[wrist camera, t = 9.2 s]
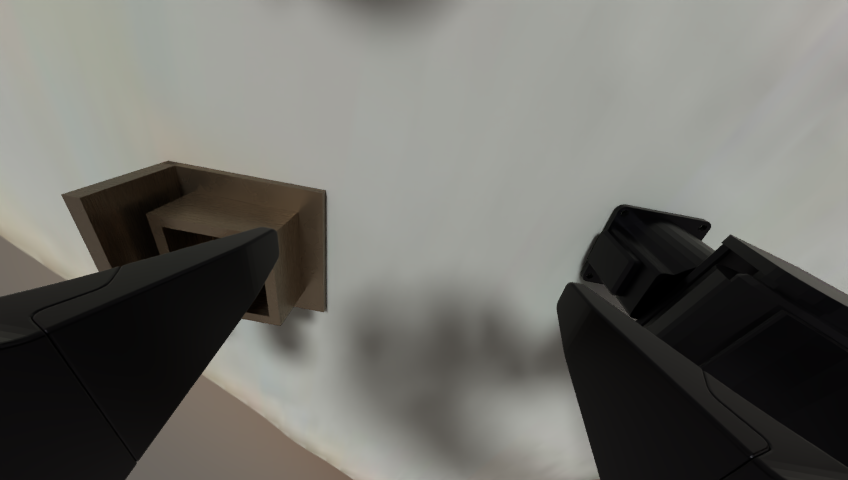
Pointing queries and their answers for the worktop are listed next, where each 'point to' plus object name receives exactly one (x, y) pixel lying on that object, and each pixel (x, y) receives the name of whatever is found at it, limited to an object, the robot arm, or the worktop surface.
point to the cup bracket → (209, 225)
